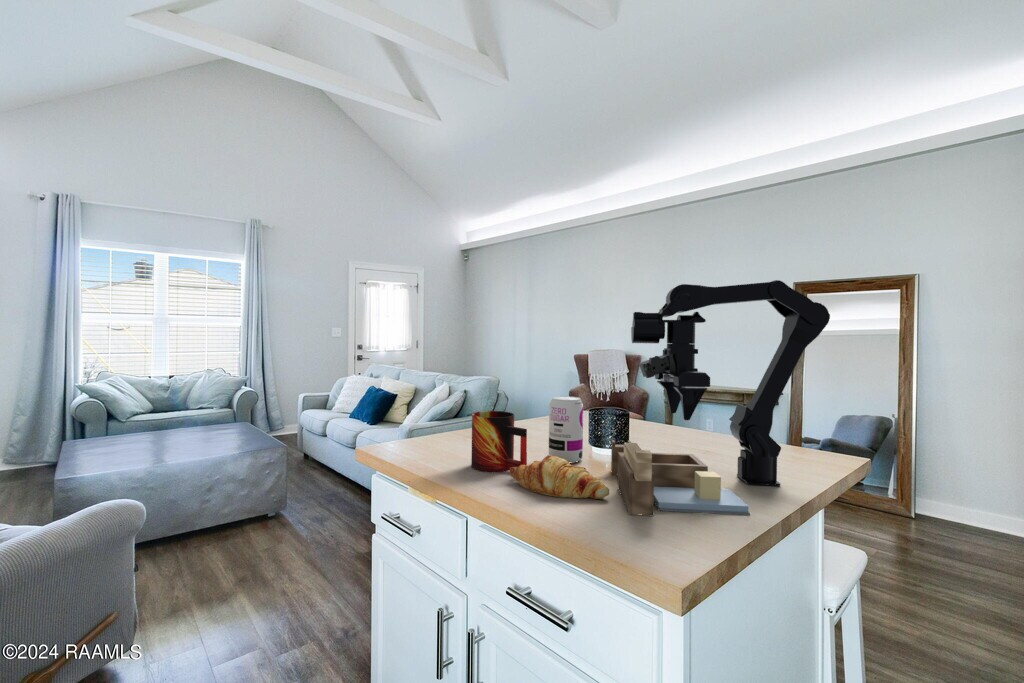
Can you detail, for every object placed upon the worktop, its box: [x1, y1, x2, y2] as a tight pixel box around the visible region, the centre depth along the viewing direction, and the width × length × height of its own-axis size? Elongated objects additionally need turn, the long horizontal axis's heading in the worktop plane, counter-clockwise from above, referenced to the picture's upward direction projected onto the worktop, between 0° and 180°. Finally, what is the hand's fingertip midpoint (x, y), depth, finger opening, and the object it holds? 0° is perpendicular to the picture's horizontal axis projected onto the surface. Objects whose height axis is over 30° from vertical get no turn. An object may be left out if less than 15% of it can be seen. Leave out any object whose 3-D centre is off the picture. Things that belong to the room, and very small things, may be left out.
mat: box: [654, 501, 751, 516], centre depth 87 cm, size 15×10×1 cm, turn 85°
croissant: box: [509, 454, 610, 500], centre depth 93 cm, size 21×10×8 cm, turn 60°
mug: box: [470, 410, 528, 474], centre depth 109 cm, size 10×14×12 cm
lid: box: [654, 471, 750, 513], centre depth 87 cm, size 15×9×5 cm, turn 85°
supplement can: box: [548, 395, 584, 462], centre depth 116 cm, size 8×8×15 cm
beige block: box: [623, 442, 653, 481], centre depth 86 cm, size 2×15×5 cm, turn 175°
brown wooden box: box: [610, 439, 709, 516], centre depth 93 cm, size 17×26×7 cm, turn 175°
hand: (679, 416), depth 103 cm, fingers open, 9 cm apart
